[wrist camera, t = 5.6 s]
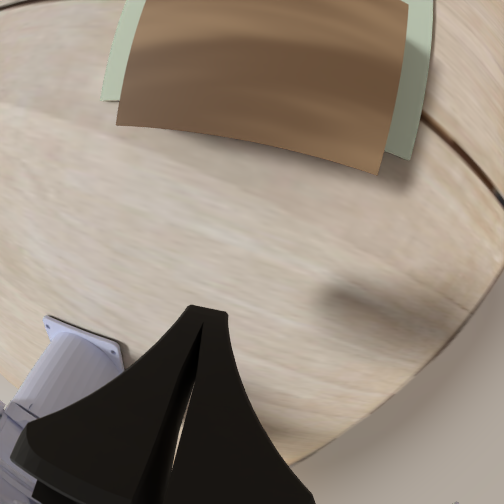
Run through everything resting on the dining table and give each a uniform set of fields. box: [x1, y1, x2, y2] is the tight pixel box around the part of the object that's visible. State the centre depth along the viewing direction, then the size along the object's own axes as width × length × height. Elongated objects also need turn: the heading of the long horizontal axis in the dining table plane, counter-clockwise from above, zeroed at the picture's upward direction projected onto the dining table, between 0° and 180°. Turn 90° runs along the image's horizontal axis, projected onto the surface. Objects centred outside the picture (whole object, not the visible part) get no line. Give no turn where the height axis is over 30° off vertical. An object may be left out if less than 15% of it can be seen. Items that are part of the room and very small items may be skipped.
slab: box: [116, 0, 409, 175], centre depth 8 cm, size 3×10×8 cm
